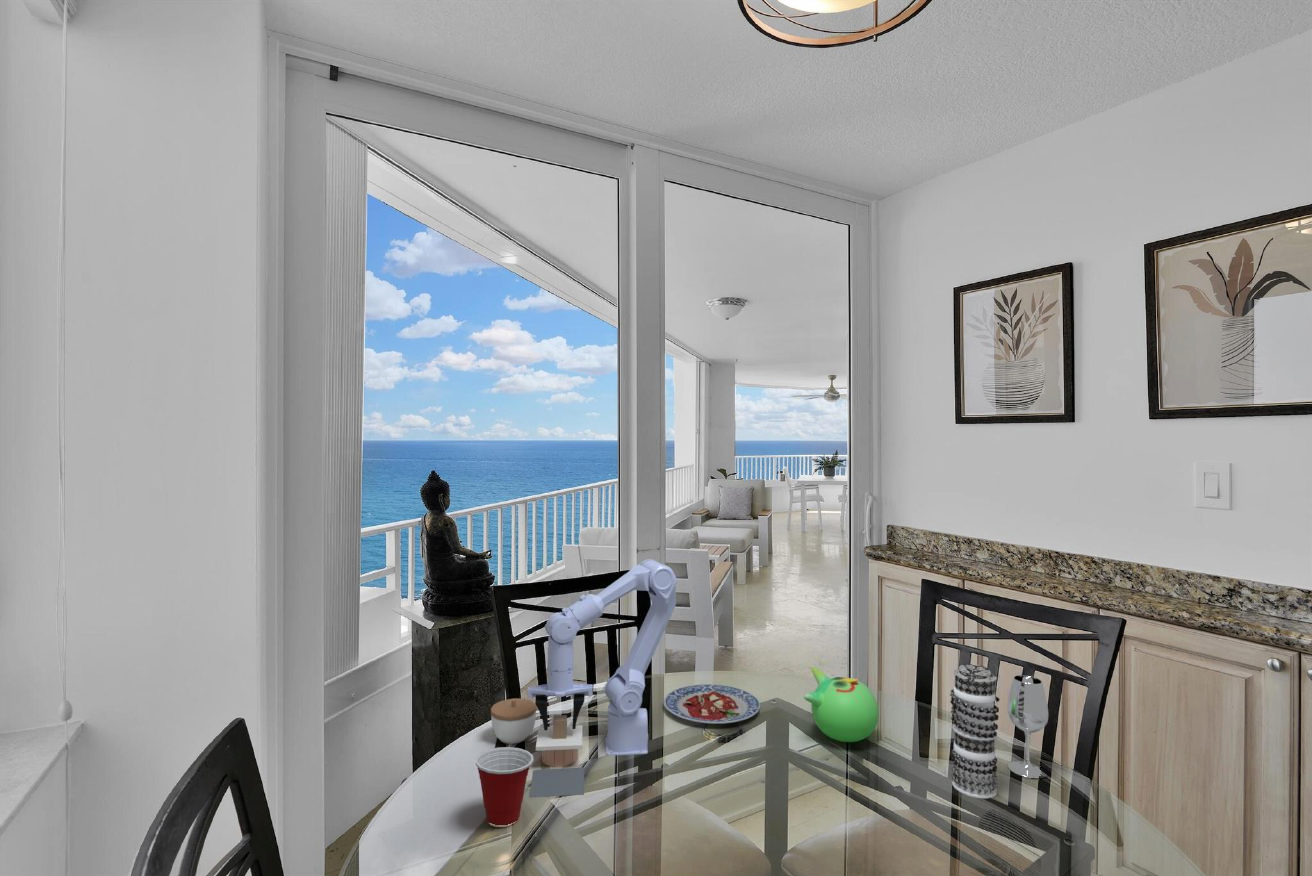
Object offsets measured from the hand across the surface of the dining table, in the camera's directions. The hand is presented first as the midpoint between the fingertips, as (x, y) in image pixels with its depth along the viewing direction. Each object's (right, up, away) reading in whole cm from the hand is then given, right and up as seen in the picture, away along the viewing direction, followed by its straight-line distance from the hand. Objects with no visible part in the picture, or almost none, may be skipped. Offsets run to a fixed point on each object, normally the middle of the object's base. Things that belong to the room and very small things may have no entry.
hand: (560, 727), depth 147 cm
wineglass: (+104, -8, -4) cm, 104 cm away
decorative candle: (+88, -8, -11) cm, 89 cm away
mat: (+1, -7, -10) cm, 13 cm away
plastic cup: (-7, -7, -24) cm, 26 cm away
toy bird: (+67, -8, +12) cm, 69 cm away
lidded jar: (-13, -7, +10) cm, 17 cm away
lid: (0, -3, 0) cm, 3 cm away
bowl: (0, -7, 0) cm, 7 cm away
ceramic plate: (+37, -8, +28) cm, 47 cm away
